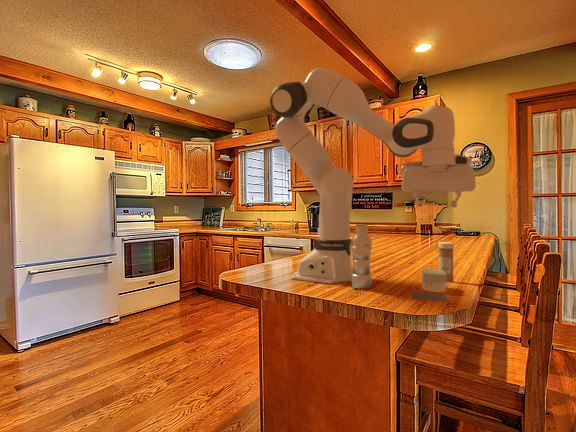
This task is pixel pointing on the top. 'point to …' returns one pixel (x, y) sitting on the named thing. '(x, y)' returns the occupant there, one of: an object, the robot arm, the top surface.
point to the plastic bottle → (361, 258)
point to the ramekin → (433, 286)
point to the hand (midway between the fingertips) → (436, 206)
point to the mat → (429, 296)
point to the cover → (433, 275)
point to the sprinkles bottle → (446, 259)
